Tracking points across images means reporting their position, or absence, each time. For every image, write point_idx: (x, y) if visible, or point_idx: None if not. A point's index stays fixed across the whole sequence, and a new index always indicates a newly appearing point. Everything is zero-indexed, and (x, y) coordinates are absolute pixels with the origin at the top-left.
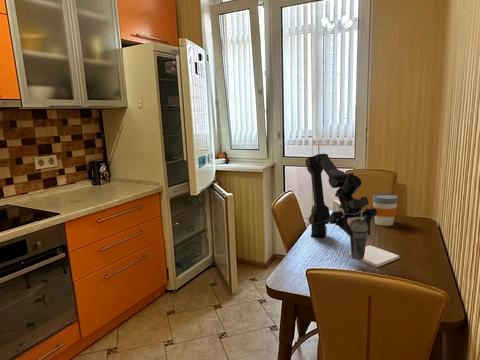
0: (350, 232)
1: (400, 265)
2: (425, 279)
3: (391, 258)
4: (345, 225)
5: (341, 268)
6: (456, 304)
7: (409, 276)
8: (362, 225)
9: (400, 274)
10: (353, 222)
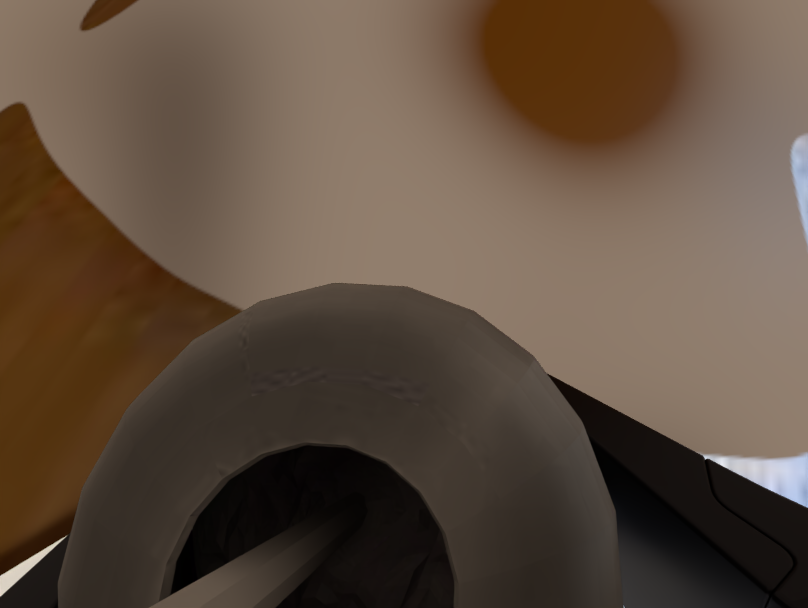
0: (574, 401)
1: (61, 446)
2: (48, 233)
3: (61, 540)
4: (800, 507)
5: None
6: (92, 18)
7: (115, 275)
8: (312, 295)
9: (154, 305)
10: (577, 508)
